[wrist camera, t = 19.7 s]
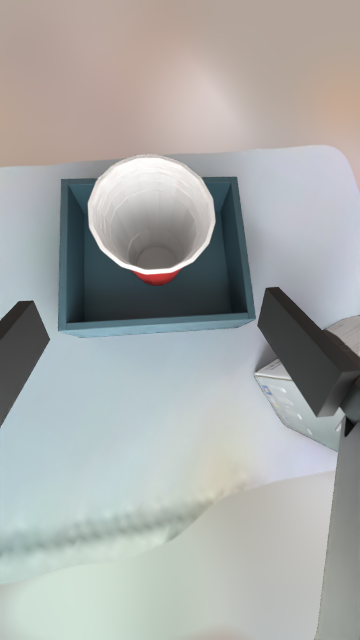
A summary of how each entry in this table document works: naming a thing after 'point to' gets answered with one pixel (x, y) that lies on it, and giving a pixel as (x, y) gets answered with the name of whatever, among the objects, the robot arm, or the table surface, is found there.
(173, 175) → the plastic cup
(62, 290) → the tray
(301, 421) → the hard drive box
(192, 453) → the table surface
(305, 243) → the table surface
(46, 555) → the table surface
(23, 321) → the robot arm
